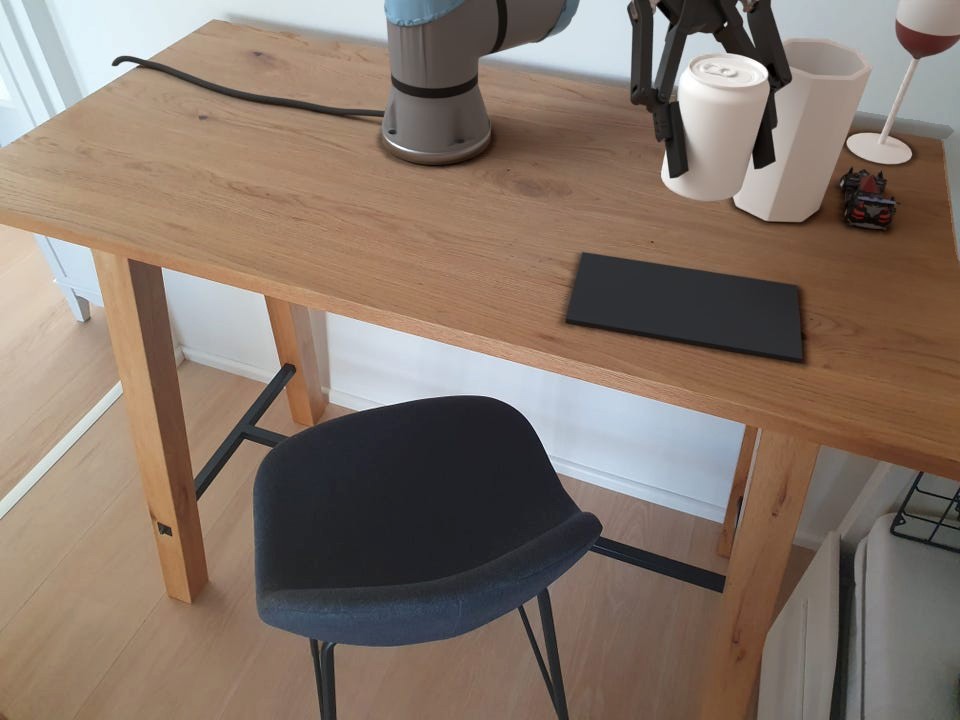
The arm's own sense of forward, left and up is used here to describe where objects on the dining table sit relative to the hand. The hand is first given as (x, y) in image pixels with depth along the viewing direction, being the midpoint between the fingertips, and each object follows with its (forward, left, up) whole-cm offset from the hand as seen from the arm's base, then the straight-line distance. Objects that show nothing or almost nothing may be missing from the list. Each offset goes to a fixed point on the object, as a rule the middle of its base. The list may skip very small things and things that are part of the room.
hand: (722, 169), depth 73 cm
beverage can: (-1, +3, -4) cm, 5 cm away
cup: (+10, +22, -16) cm, 29 cm away
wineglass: (+24, +40, -16) cm, 49 cm away
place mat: (0, -2, -16) cm, 16 cm away
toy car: (+21, +24, -16) cm, 36 cm away
